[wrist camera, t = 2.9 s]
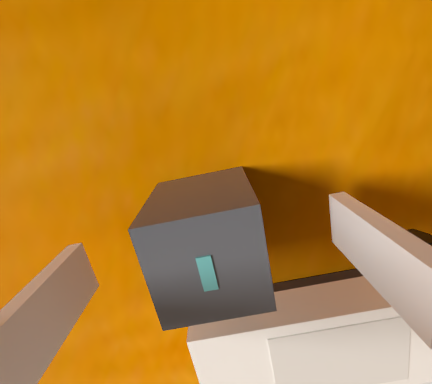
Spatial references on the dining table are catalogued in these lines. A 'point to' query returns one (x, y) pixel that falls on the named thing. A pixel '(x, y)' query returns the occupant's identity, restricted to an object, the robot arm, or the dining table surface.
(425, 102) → the dining table surface
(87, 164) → the dining table surface
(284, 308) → the white slotted tray
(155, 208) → the charger brick
